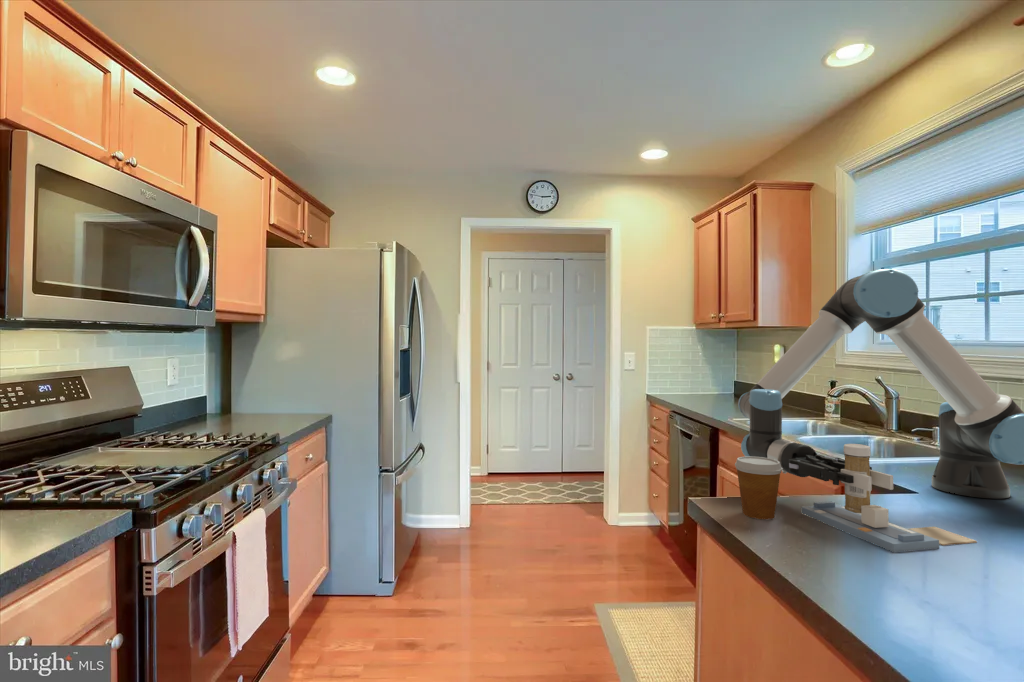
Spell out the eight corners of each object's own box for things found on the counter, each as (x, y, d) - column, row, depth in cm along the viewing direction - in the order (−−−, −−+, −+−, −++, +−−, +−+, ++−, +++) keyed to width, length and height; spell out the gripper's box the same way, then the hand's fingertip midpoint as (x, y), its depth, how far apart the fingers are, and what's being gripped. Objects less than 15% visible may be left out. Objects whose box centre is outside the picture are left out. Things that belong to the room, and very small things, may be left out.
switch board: (839, 511, 115) (839, 499, 115) (939, 548, 93) (938, 534, 93) (801, 513, 113) (801, 502, 113) (893, 552, 91) (893, 538, 91)
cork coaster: (934, 527, 104) (934, 526, 104) (976, 542, 96) (976, 540, 96) (901, 530, 102) (901, 529, 102) (942, 545, 94) (942, 543, 94)
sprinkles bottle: (874, 511, 103) (874, 445, 104) (864, 515, 101) (864, 448, 101) (850, 506, 107) (849, 442, 108) (839, 509, 105) (839, 444, 105)
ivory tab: (874, 521, 102) (874, 503, 102) (888, 526, 99) (888, 508, 99) (861, 522, 102) (861, 504, 102) (874, 527, 99) (874, 509, 99)
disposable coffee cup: (726, 508, 116) (726, 456, 116) (766, 507, 117) (766, 455, 117) (749, 522, 107) (749, 465, 107) (792, 521, 107) (792, 464, 108)
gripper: (824, 472, 123) (918, 500, 101) (761, 475, 120) (842, 504, 97) (824, 441, 124) (917, 462, 101) (760, 443, 120) (842, 465, 97)
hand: (880, 483), depth 99 cm, fingers closed on sprinkles bottle, 4 cm apart
